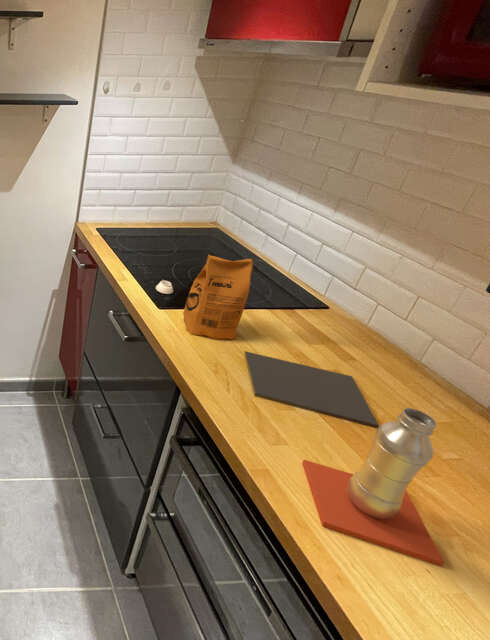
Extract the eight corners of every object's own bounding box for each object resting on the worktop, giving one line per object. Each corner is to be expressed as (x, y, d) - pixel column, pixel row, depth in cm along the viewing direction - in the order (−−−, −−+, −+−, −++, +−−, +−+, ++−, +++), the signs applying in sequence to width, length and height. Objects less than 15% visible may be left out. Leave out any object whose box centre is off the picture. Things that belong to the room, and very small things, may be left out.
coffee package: (179, 315, 128) (197, 246, 119) (226, 322, 125) (249, 252, 116) (186, 335, 119) (206, 262, 110) (237, 343, 117) (262, 269, 108)
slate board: (350, 378, 105) (352, 376, 105) (377, 428, 92) (379, 425, 91) (244, 353, 113) (245, 351, 113) (254, 395, 99) (255, 393, 99)
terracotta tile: (403, 493, 78) (406, 489, 78) (441, 566, 67) (444, 562, 67) (302, 463, 84) (303, 459, 83) (321, 526, 73) (324, 522, 72)
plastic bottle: (372, 528, 72) (429, 438, 63) (332, 490, 78) (379, 403, 69) (403, 520, 73) (463, 431, 64) (361, 483, 79) (411, 397, 71)
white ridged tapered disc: (160, 295, 138) (175, 294, 139) (162, 287, 137) (177, 286, 137) (152, 287, 143) (167, 286, 143) (154, 279, 141) (169, 278, 142)
